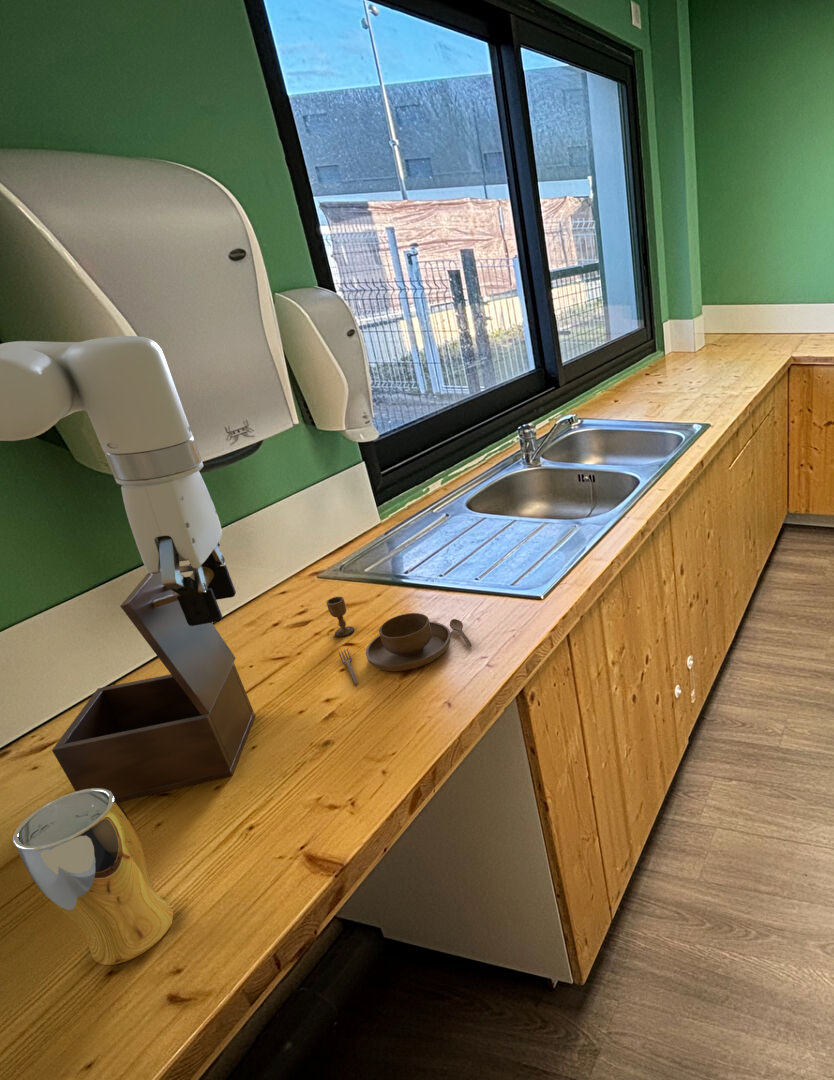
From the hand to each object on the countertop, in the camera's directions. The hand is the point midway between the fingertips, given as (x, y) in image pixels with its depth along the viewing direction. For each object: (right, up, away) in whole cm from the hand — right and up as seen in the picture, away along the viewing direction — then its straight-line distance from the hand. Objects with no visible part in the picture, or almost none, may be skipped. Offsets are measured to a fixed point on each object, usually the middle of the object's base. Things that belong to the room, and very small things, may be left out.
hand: (213, 608), depth 81 cm
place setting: (+9, -8, +28) cm, 31 cm away
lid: (-4, -3, 0) cm, 5 cm away
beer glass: (+4, -29, -15) cm, 33 cm away
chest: (-9, -19, +6) cm, 22 cm away
